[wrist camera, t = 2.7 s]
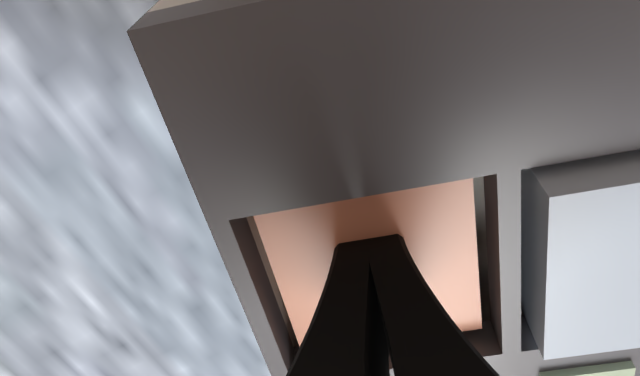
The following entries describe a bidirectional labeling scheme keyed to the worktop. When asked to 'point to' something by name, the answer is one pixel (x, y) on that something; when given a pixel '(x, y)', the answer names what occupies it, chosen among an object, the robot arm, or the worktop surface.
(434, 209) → the terracotta key
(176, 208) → the worktop surface
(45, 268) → the worktop surface
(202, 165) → the keypad
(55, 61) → the worktop surface
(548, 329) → the blue key
